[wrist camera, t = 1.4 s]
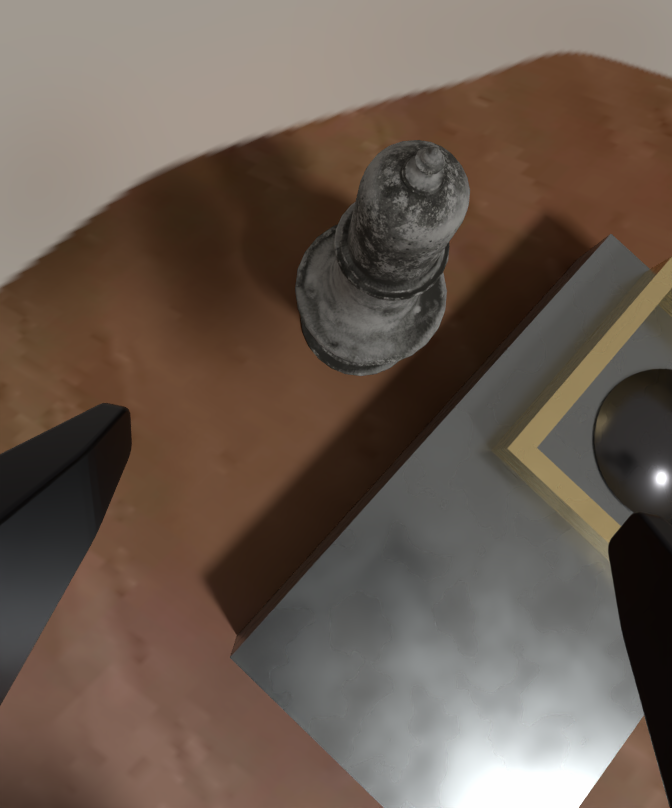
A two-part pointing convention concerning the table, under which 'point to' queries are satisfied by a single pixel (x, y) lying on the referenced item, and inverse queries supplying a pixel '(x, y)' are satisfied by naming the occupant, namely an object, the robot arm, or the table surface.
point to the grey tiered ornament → (384, 261)
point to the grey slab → (491, 566)
